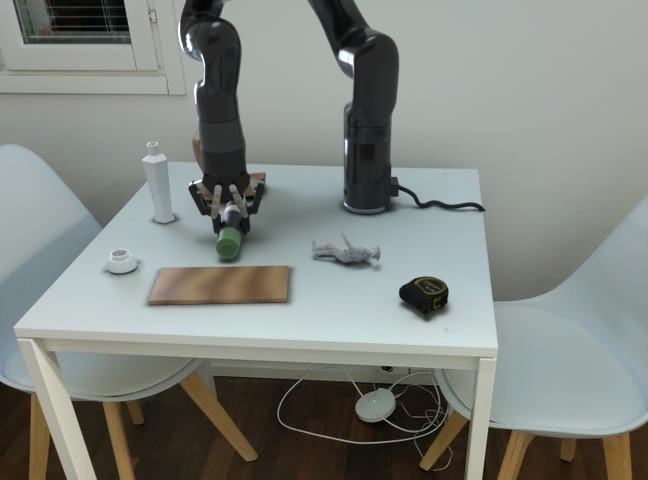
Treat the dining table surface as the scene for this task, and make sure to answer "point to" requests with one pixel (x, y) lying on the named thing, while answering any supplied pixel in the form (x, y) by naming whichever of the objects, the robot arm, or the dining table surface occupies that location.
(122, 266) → the white jar
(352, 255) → the soldier figure
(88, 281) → the dining table surface
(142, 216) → the dining table surface
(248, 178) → the robot arm
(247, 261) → the dining table surface
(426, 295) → the tape measure
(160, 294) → the wooden board
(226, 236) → the marker
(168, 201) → the perfume bottle
